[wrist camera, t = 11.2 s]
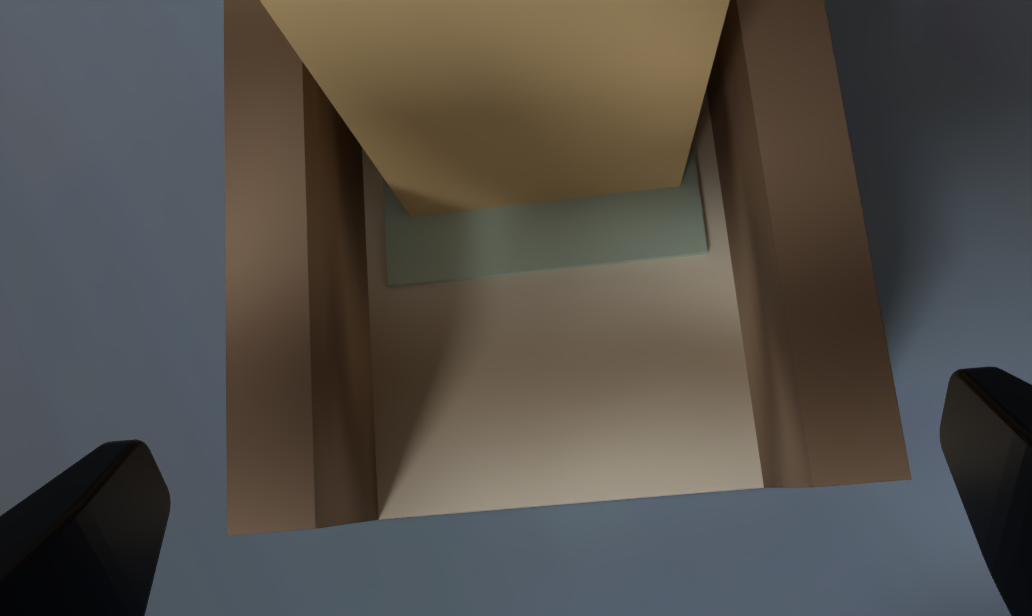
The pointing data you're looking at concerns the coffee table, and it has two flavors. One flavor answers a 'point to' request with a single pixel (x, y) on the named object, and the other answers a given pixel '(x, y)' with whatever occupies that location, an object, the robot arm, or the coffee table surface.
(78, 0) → the coffee table surface
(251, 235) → the brown open-ended tray
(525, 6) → the pillar
